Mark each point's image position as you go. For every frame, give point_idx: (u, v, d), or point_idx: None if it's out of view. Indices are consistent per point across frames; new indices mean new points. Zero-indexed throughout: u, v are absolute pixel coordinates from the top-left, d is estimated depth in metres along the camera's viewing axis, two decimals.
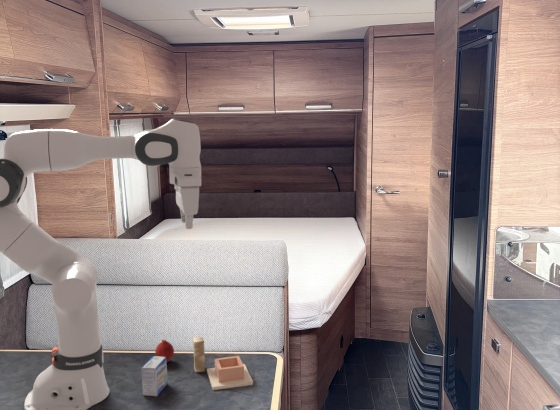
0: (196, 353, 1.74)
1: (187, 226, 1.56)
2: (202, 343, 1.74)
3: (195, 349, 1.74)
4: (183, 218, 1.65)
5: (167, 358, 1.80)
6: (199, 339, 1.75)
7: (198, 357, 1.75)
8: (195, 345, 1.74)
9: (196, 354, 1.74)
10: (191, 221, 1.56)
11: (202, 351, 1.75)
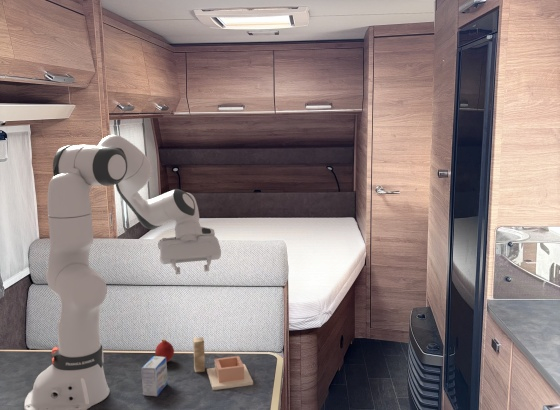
0: (196, 353, 1.74)
1: (208, 267, 1.88)
2: (202, 343, 1.74)
3: (195, 349, 1.74)
4: (179, 269, 1.86)
5: (167, 358, 1.80)
6: (199, 339, 1.75)
7: (198, 357, 1.75)
8: (195, 345, 1.74)
9: (196, 354, 1.74)
10: None
11: (202, 351, 1.75)
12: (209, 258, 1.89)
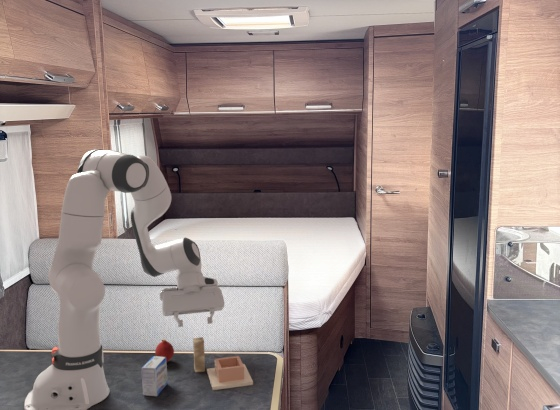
0: (196, 353, 1.74)
1: None
2: (202, 343, 1.74)
3: (195, 349, 1.74)
4: None
5: (167, 358, 1.80)
6: (199, 339, 1.75)
7: (198, 357, 1.75)
8: (195, 345, 1.74)
9: (196, 354, 1.74)
10: None
11: (202, 351, 1.75)
12: (212, 310, 1.84)
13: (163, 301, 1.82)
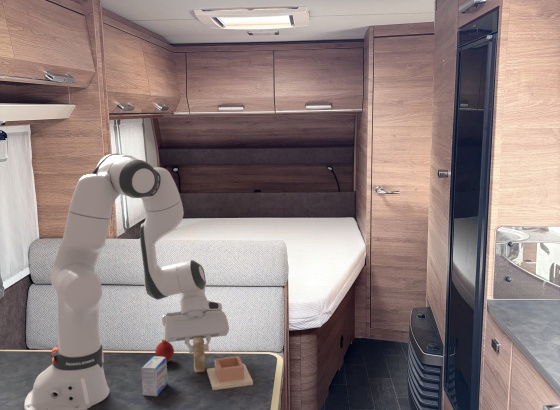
0: (196, 353, 1.74)
1: None
2: (202, 343, 1.74)
3: (195, 349, 1.74)
4: (193, 347, 1.75)
5: (167, 358, 1.80)
6: (199, 339, 1.75)
7: (198, 357, 1.75)
8: (195, 345, 1.74)
9: (196, 354, 1.74)
10: (208, 344, 1.78)
11: (202, 351, 1.75)
12: (209, 336, 1.78)
13: (166, 327, 1.76)
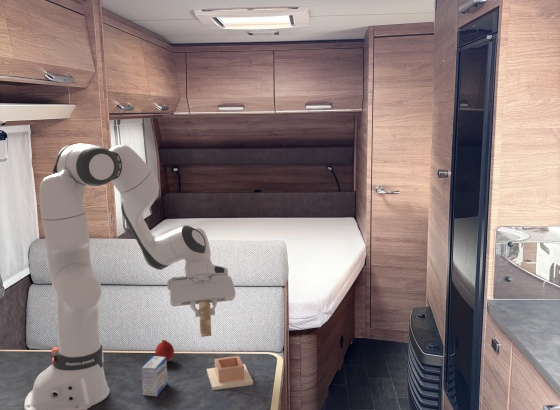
0: (202, 317, 1.71)
1: (214, 311, 1.73)
2: (208, 307, 1.71)
3: (201, 313, 1.71)
4: (199, 311, 1.72)
5: (167, 358, 1.80)
6: (205, 303, 1.72)
7: (204, 321, 1.72)
8: (201, 309, 1.71)
9: (202, 318, 1.71)
10: None
11: (208, 315, 1.72)
12: (215, 301, 1.75)
13: (171, 291, 1.73)
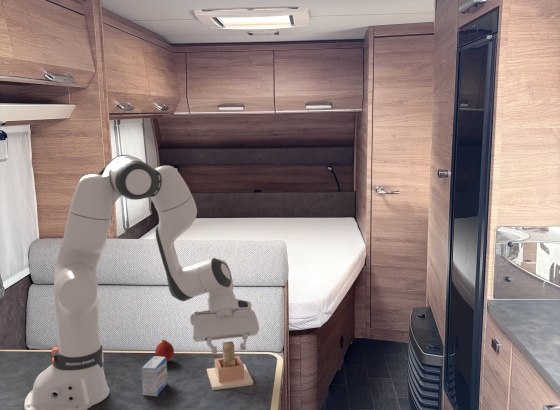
0: (226, 358, 1.69)
1: None
2: (232, 347, 1.69)
3: (225, 354, 1.68)
4: None
5: (167, 358, 1.80)
6: (229, 344, 1.70)
7: (228, 362, 1.69)
8: (225, 350, 1.68)
9: (226, 359, 1.69)
10: None
11: (232, 356, 1.69)
12: (245, 335, 1.72)
13: (194, 326, 1.70)
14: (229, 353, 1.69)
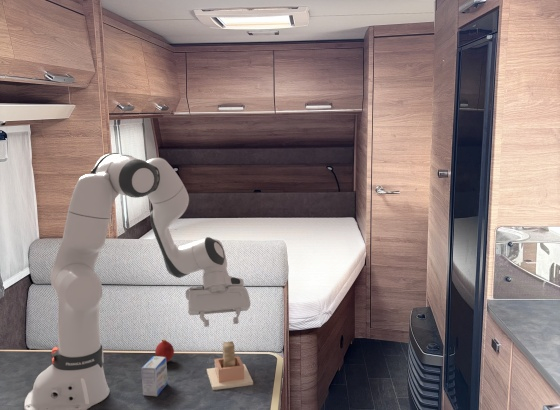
0: (226, 358, 1.69)
1: (238, 320, 1.82)
2: (232, 347, 1.69)
3: (225, 354, 1.68)
4: (208, 321, 1.79)
5: (167, 358, 1.80)
6: (229, 344, 1.70)
7: (228, 362, 1.69)
8: (225, 350, 1.68)
9: (226, 359, 1.69)
10: None
11: (232, 356, 1.69)
12: (238, 310, 1.83)
13: (189, 300, 1.81)
14: (229, 353, 1.69)
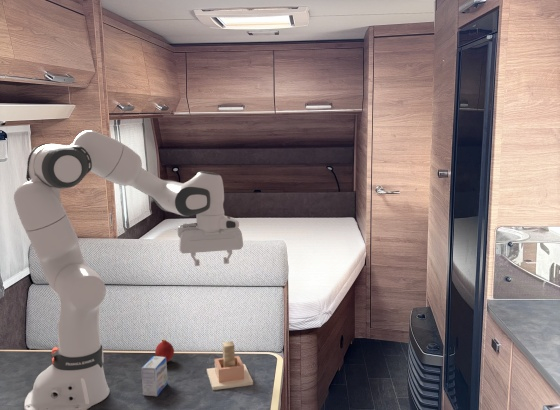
0: (226, 358, 1.69)
1: None
2: (232, 347, 1.69)
3: (225, 354, 1.68)
4: None
5: (167, 358, 1.80)
6: (229, 344, 1.70)
7: (228, 362, 1.69)
8: (225, 350, 1.68)
9: (226, 359, 1.69)
10: None
11: (232, 356, 1.69)
12: (230, 252, 1.82)
13: (181, 242, 1.76)
14: (229, 353, 1.69)
